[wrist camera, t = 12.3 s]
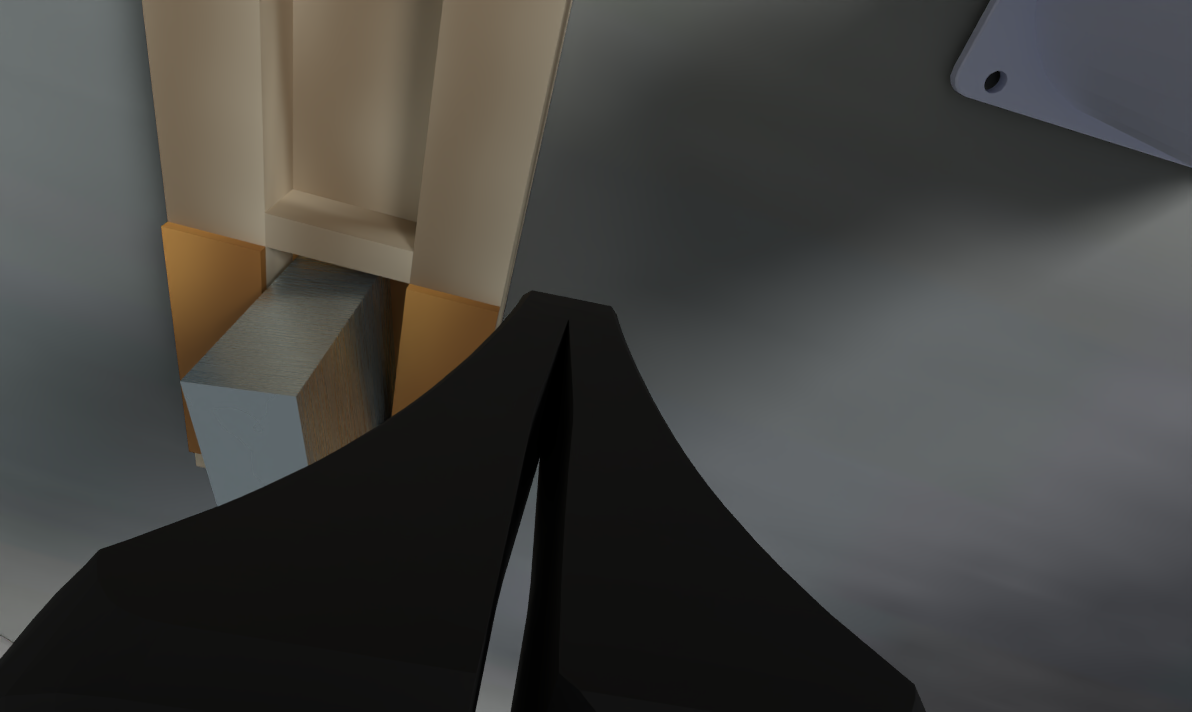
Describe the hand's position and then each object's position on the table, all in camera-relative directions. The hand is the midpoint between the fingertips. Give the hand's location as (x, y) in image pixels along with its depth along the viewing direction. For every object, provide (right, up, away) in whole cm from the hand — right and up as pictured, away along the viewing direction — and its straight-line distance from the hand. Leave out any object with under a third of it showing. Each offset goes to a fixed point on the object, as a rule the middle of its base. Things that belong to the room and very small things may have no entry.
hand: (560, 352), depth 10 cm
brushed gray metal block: (-7, 0, +11) cm, 14 cm away
